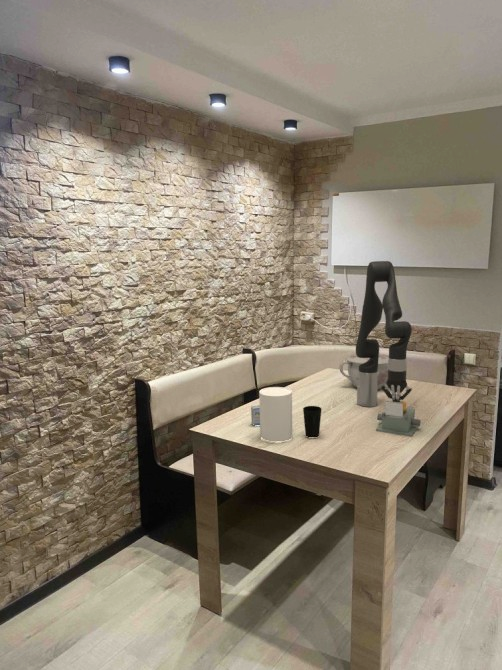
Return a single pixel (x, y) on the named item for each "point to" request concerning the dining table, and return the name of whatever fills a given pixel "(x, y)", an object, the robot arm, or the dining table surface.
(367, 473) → the dining table surface
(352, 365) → the chamber pot
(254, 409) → the medicine box
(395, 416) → the bar
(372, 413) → the dining table surface
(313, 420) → the cup
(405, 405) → the orange domed cylinder
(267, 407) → the canister
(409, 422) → the grey-green knobbed device
